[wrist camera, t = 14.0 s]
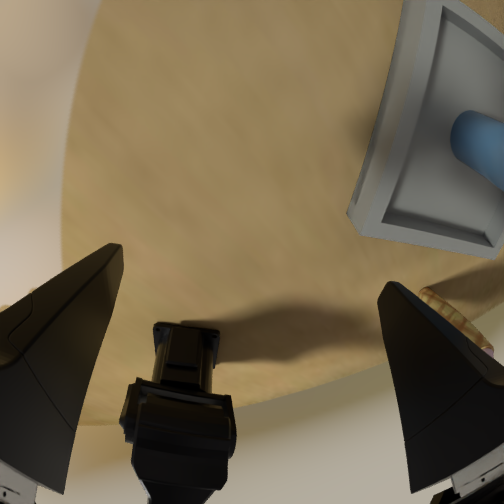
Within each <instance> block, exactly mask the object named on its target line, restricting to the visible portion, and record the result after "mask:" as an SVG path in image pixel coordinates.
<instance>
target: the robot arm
mask: <svg viewBox="0 0 504 504" xmlns="http://www.w3.org/2000/svg"><path fill="white" fill-rule="evenodd" d="M123 270H124V262H123V248H122V245H121V244H115V243H109V244H107V245H105V246H103V247H102V248H100V249H98V250H97V251H95V252H93V253H92V254H90V255H88V256H87V257H85V258H83V259H82V260H80V261H79V262H77V263H75V264H74V265H72V266H71V267H69V268H67V269H66V270H64V271H63V272H61V273H60V274H58V275H57V276H55V277H53V278H52V279H50V280H49V281H47V282H46V283H44V284H43V285H41V286H40V287H38V288H37V289H35V290H34V291H32V293H29V294H28V295H26V296H25V297H24V298H22V299H21V300H19V301H18V302H16V303H15V304H13V305H12V306H10V307H9V308H7V309H5V310H4V311H2V312H0V504H36V503H35V497H36V491H37V485H39V486H42V487H44V488H47V489H49V490H52V491H54V492H57V493H60V494H62V495H63V494H64V490H65V483H66V478H67V472H68V467H69V461H70V457H71V452H72V447H73V443H74V438H75V432H76V430H77V425H78V421H79V418H80V414H81V410H82V406H83V403H84V399H85V395H86V392H87V388H88V385H89V382H90V378H91V375H92V372H93V369H94V365H95V362H96V359H97V356H98V353H99V350H100V347H101V344H102V341H103V339H104V336H105V333H106V330H107V327H108V324H109V322H110V319H111V316H112V313H113V309H114V305H115V301H116V297H117V294H118V290H119V286H120V282H121V279H122V275H123ZM377 305H378V311H379V316H380V322H381V328H382V335H383V340H384V344H385V348H386V353H387V357H388V361H389V365H390V369H391V374H392V378H393V383H394V387H395V392H396V397H397V402H398V407H399V413H400V418H401V424H402V430H403V436H404V441H405V450H406V457H407V464H408V473H409V482H410V490H411V494H413V493H415V492H418V491H421V490H423V489H426V488H428V487H431V486H433V485H436V484H438V483H440V482H442V481H445V480H447V479H449V478H451V482H452V485H453V487H451V488H449V489H446V490H444V491H442V492H440V493H438V494H436V495H434V496H433V498H432V500H431V502H430V504H504V366H502V365H501V364H500V363H499V362H497V361H496V360H495V359H494V358H492V357H491V356H490V355H489V354H487V353H486V352H485V351H484V350H482V349H481V348H480V347H479V346H477V345H476V344H475V343H474V342H473V341H471V340H470V339H469V338H468V337H467V336H465V335H464V334H463V333H462V332H461V331H460V330H458V329H457V328H456V327H455V326H453V325H452V324H451V323H450V322H449V321H447V320H446V319H445V318H444V317H443V316H441V315H440V314H439V313H438V312H436V311H435V310H434V309H433V308H431V307H430V306H429V305H428V304H426V303H425V302H424V301H422V300H421V299H420V298H419V297H417V296H416V295H415V294H413V293H412V292H411V291H410V290H408V289H407V288H406V287H404V286H403V285H402V284H400V283H399V282H394V281H389V282H387V283H386V285H385V287H384V289H383V290H382V292H381V294H380V296H379V297H378V301H377ZM153 335H154V345H155V354H156V359H155V365H154V370H153V376H152V381H147V380H143V379H142V378H139V377H137V378H136V382H135V383H134V384H129V386H128V391H127V395H126V399H125V403H124V406H123V409H122V412H121V415H120V419H119V424H120V425H121V427H122V428H123V429H124V434H125V442H127V443H131V444H133V449H132V458H131V464H132V467H133V469H134V471H135V473H136V475H137V477H138V479H139V480H140V483H141V484H142V486H143V488H144V490H145V492H146V494H147V496H148V501H147V504H204V503H205V502H206V501H207V500H208V498H209V497H210V496H211V495H212V494H213V492H214V491H215V490H221V489H222V488H223V486H224V485H225V483H226V481H227V477H228V476H227V475H228V470H227V469H228V467H227V466H228V459H230V458H231V457H232V456H233V453H234V450H235V446H236V437H237V434H236V424H235V418H234V412H233V406H232V399H231V395H219V394H213V393H212V371H213V369H214V368H215V364H216V358H217V352H218V345H219V339H220V332H219V331H216V330H208V329H199V328H190V327H182V326H174V325H166V324H159V323H156V324H154V327H153Z"/></svg>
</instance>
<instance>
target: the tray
mask: <svg viewBox="0 0 504 504" xmlns="http://www.w3.org/2000/svg"><path fill="white" fill-rule="evenodd" d="M467 110H474V111H477V112H479V113H482V114H484V115H487V116H489V117H492V118H494V119H497V120H499V121H501V122H503V123H504V35H503V34H502V33H501V32H500V31H498V30H497V29H496V28H495V27H494V26H492V25H491V24H490V23H489V22H488V21H486V20H485V19H484V18H482V17H481V16H480V15H479V14H477V13H476V12H475V11H473V10H472V9H470V8H469V7H468V6H466V5H465V4H463V3H462V2H461V1H459V0H404V1H403V7H402V13H401V18H400V23H399V28H398V33H397V38H396V43H395V47H394V52H393V56H392V61H391V65H390V69H389V73H388V77H387V81H386V85H385V89H384V93H383V97H382V101H381V105H380V108H379V112H378V116H377V119H376V123H375V126H374V130H373V133H372V136H371V140H370V143H369V146H368V150H367V153H366V156H365V159H364V163H363V166H362V169H361V172H360V175H359V178H358V181H357V184H356V187H355V190H354V193H353V196H352V199H351V202H350V205H349V208H348V211H347V213H346V214H347V216H348V217H349V219H350V220H351V222H352V224H353V225H354V227H355V228H356V230H357V232H358V233H359V235H361V236H367V237H373V238H379V239H385V240H391V241H397V242H403V243H408V244H414V245H419V246H425V247H430V248H436V249H441V250H446V251H451V252H457V253H462V254H467V255H472V256H477V257H482V258H487V259H491V260H495V258H496V257H497V255H498V253H499V251H500V249H501V248H502V246H503V244H504V192H503V191H502V190H501V189H499V188H498V187H497V186H495V185H494V184H493V183H491V182H490V181H488V180H487V179H486V178H484V177H483V176H481V175H480V174H478V173H477V172H475V171H474V170H472V169H471V168H469V167H468V166H466V165H465V164H463V163H462V162H460V161H459V160H458V159H457V158H456V157H455V156H454V154H453V152H452V149H451V143H450V135H451V129H452V126H453V124H454V121H455V120H456V118H457V117H458V116H459V115H460V114H461V113H462V112H464V111H467Z"/></svg>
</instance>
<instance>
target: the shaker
mask: <svg viewBox="0 0 504 504" xmlns="http://www.w3.org/2000/svg"><path fill="white" fill-rule="evenodd" d="M450 143H451V149H452V152H453V154H454V156H455V157H456V158H457V159H458V160H459V161H460V162H462V163H463V164H465V165H466V166H468V167H469V168H471V169H472V170H474V171H475V172H477V173H478V174H480V175H481V176H483V177H484V178H486V179H487V180H488V181H490V182H491V183H493V184H494V185H495V186H497V187H498V188H499V189H501V190H502V191H503V192H504V123H503V122H501V121H499V120H497V119H494V118H492V117H489V116H487V115H484V114H482V113H479V112H477V111H474V110H467V111H464V112H462V113H461V114H460V115H459V116H458V117H457V118H456V120H455V121H454V124H453V126H452V129H451V135H450Z"/></svg>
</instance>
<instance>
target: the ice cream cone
mask: <svg viewBox="0 0 504 504" xmlns="http://www.w3.org/2000/svg"><path fill="white" fill-rule="evenodd" d="M419 298H420V299H421V300H422V301H424V302H425V303H426V304H428V305H429V306H430V307H431V308H433V309H434V310H435V311H436V312H438V313H439V314H440V315H441V316H443V317H444V318H445V319H446V320H447V321H449V322H450V323H451V324H452V325H453V326H455V327H456V328H457V329H458V330H460V331H461V332H462V333H463V334H464V335H465V336H467V337H468V338H469V339H470V340H471V341H473V342H474V343H475V344H476V345H477V346H479V347H480V348H481V349H482V350H484V351H485V352H486V353H487V354H489V355H490V356H491V357H492V358H493V353H494V348H493V346H492V345H491V344H490V343H489V342H488V341H487V340H486V338H485V337H484V336H483V335H482V334H481V333H480V332H479V331H478V330H477V329H476V327H474V326H473V325H472V324H471V323H470V322H469V321H468V320H467V319H466V318H465V317H464V316H463V315H462V314H461V313H459V312H458V311H457V310H456V309H455V308H454V307H452V306H451V305H450V304H449V303H447V302H446V301H445V300H444V299H442V298H441V297H440V296H439V295H437V294H436V293H435V292H433V291H432V290H431V289H430V288H428V287H425V288H423V289H421V290H420V292H419Z"/></svg>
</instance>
